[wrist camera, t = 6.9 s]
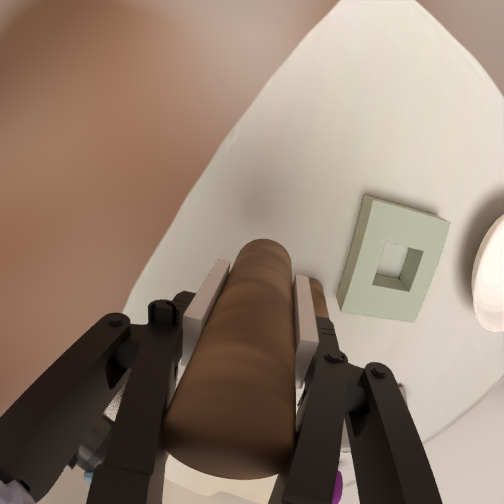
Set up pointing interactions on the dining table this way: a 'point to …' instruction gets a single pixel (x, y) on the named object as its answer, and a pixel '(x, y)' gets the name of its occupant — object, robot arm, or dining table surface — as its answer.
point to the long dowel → (241, 375)
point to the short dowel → (318, 298)
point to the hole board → (369, 253)
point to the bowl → (490, 279)
